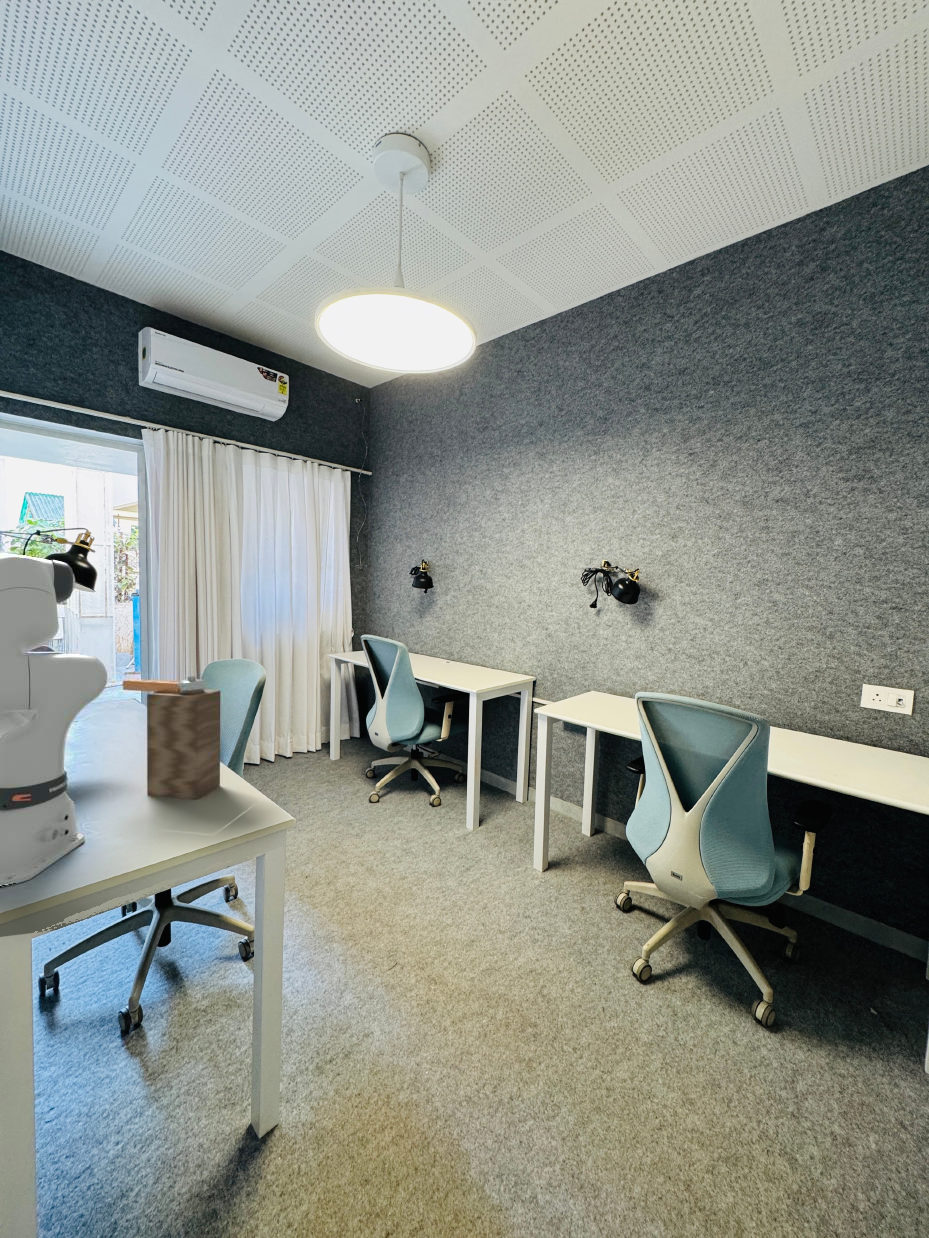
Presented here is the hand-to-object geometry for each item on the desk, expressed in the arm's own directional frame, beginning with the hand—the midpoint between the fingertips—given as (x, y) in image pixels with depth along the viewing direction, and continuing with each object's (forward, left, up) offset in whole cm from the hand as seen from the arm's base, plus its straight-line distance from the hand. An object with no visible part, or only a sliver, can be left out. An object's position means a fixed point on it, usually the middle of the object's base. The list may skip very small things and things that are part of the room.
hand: (82, 678), depth 132 cm
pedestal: (-11, -28, -28) cm, 41 cm away
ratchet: (-9, -22, -2) cm, 24 cm away
